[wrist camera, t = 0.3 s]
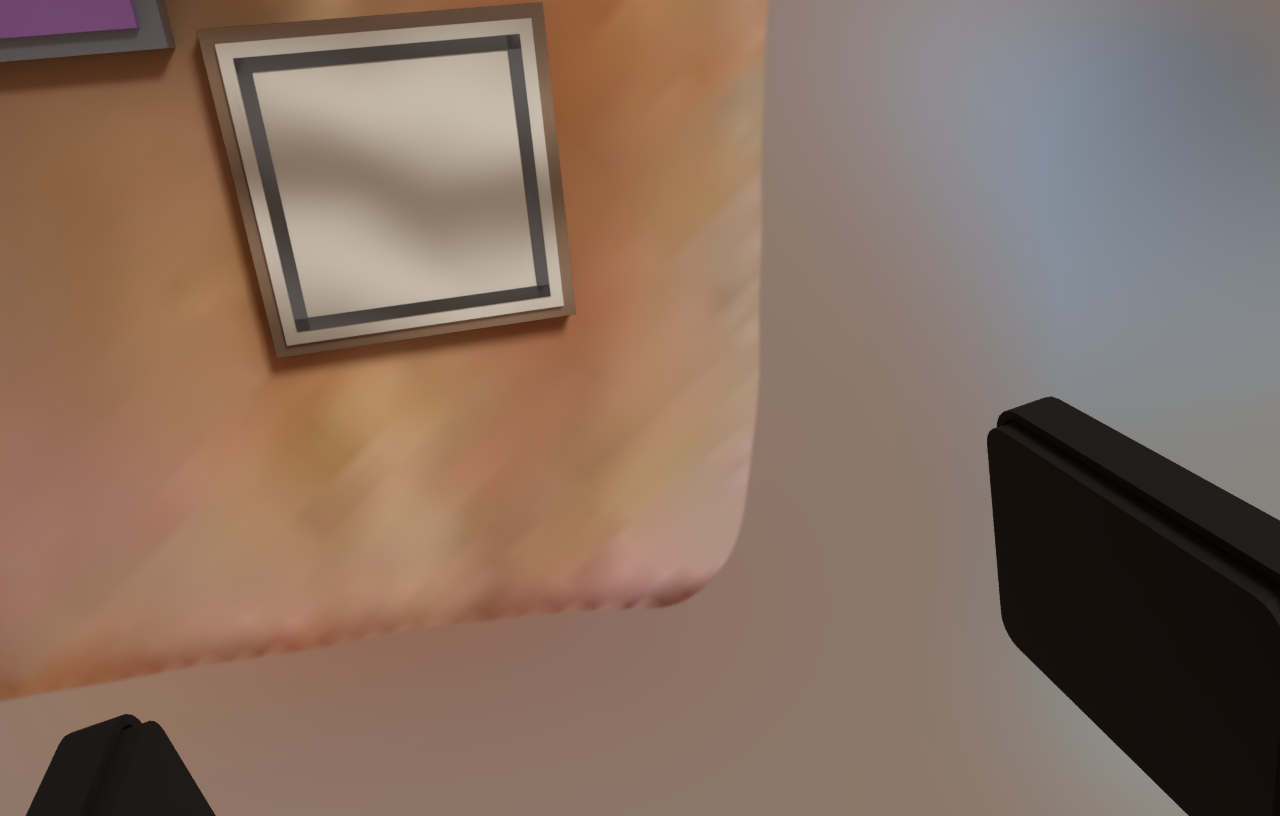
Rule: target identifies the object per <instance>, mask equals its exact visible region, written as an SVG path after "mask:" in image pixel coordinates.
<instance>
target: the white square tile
mask: <svg viewBox="0 0 1280 816" xmlns="http://www.w3.org/2000/svg"><path fill="white" fill-rule="evenodd" d="M197 34H198V38H199V43H200V47H201V51H202V55H203V59H204V63H205V67H206V71H207V75H208V79H209V83H210V87H211V91H212V95H213V99H214V103H215V108H216V112H217V116H218V120H219V124H220V128H221V132H222V136H223V140H224V144H225V148H226V152H227V156H228V160H229V164H230V168H231V173H232V177H233V181H234V185H235V189H236V193H237V197H238V201H239V205H240V209H241V213H242V217H243V221H244V225H245V229H246V233H247V238H248V242H249V246H250V250H251V254H252V258H253V262H254V266H255V270H256V274H257V278H258V282H259V286H260V290H261V294H262V298H263V303H264V307H265V311H266V315H267V319H268V323H269V327H270V331H271V335H272V339H273V343H274V347H275V351H276V355H277V358H282V357H288V356H295V355H302V354H309V353H316V352H322V351H329V350H336V349H343V348H350V347H357V346H363V345H370V344H377V343H384V342H391V341H397V340H404V339H411V338H418V337H425V336H431V335H438V334H445V333H452V332H459V331H465V330H472V329H479V328H486V327H493V326H499V325H506V324H513V323H520V322H527V321H533V320H540V319H547V318H554V317H561V316H567V315H574V314H576V308H575V299H574V290H573V281H572V271H571V262H570V253H569V244H568V234H567V225H566V216H565V207H564V198H563V188H562V179H561V170H560V161H559V151H558V142H557V133H556V124H555V115H554V105H553V96H552V87H551V78H550V68H549V59H548V50H547V41H546V32H545V22H544V13H543V4H542V2H539V3H526V4H514V5H501V6H488V7H476V8H463V9H451V10H438V11H426V12H413V13H401V14H388V15H376V16H363V17H351V18H338V19H326V20H313V21H301V22H288V23H276V24H263V25H251V26H238V27H226V28H213V29H201V30H197Z"/></svg>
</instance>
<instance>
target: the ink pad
mask: <svg viewBox="0 0 1280 816" xmlns="http://www.w3.org/2000/svg"><path fill="white" fill-rule="evenodd" d="M164 48H175V44H174V40H173V36H172V32H171V28H170V24H169V20H168V17H167V13H166V9H165V5H164V1H163V0H0V62H8V61H20V60H32V59H44V58H56V57H68V56H80V55H92V54H104V53H116V52H128V51H140V50H152V49H164Z"/></svg>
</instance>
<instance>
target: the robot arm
mask: <svg viewBox="0 0 1280 816" xmlns="http://www.w3.org/2000/svg"><path fill="white" fill-rule="evenodd" d="M987 448H988V460H989V471H990V472H989V473H990V484H991V497H992V509H993V519H994V520H993V521H994V532H995V545H996V556H997V568H998V581H999V593H1000V605H1001V614H1002V620H1003V623H1004V626H1005V629H1006V631H1007V633H1008V635H1009V636H1010V638H1011V639H1012V641H1013V642H1014V644H1015V645H1016V646H1017V647H1018V648H1019V649H1020V650H1021V651H1022V652H1023V653H1024V654H1025V655H1026V656H1027V657H1028V658H1029V659H1030V660H1031V661H1032V662H1033V663H1034V664H1035V665H1036V666H1037V667H1038V668H1039V669H1040V670H1041V671H1042V672H1043V673H1044V674H1045V675H1046V676H1047V677H1048V678H1049V679H1050V680H1051V681H1052V682H1053V683H1054V684H1055V685H1056V686H1057V687H1058V688H1060V690H1062V692H1064V693H1065V695H1066V696H1068V697H1069V698H1070V699H1071V700H1072V701H1073V702H1074V703H1075V704H1076V705H1077V706H1078V707H1079V708H1080V709H1081V710H1082V711H1083V712H1084V713H1085V714H1086V715H1087V716H1088V717H1089V718H1090V719H1091V720H1092V721H1093V722H1094V723H1095V724H1096V725H1097V726H1098V727H1099V728H1100V729H1101V730H1102V731H1103V732H1104V733H1105V734H1106V735H1107V736H1108V737H1109V738H1110V739H1111V740H1112V741H1113V742H1114V743H1115V744H1116V745H1117V746H1118V747H1119V748H1120V749H1121V750H1122V751H1123V752H1124V753H1125V754H1127V755H1128V756H1129V757H1130V758H1131V759H1132V760H1133V761H1134V762H1135V763H1136V764H1137V765H1138V766H1139V767H1140V768H1141V769H1142V770H1143V771H1144V772H1145V773H1146V774H1147V775H1148V776H1149V777H1150V778H1151V779H1152V780H1153V781H1154V782H1155V783H1156V784H1157V785H1158V786H1159V787H1160V788H1161V789H1162V790H1163V791H1164V792H1165V793H1166V794H1167V795H1168V796H1169V797H1170V798H1171V799H1172V800H1173V801H1175V803H1176V804H1177V805H1178V806H1179V807H1180V808H1182V810H1183V811H1185V813H1187V814H1188V815H1189V816H1280V521H1279V520H1278V519H1276V518H1274V517H1272V516H1270V515H1269V514H1267V513H1265V512H1263V511H1261V510H1260V509H1258V508H1256V507H1254V506H1252V505H1250V504H1248V503H1247V502H1245V501H1243V500H1241V499H1239V498H1238V497H1236V496H1234V495H1232V494H1230V493H1228V492H1227V491H1225V490H1223V489H1221V488H1220V487H1218V486H1216V485H1214V484H1212V483H1210V482H1208V481H1207V480H1205V479H1203V478H1201V477H1200V476H1198V475H1196V474H1194V473H1192V472H1190V471H1189V470H1187V469H1185V468H1183V467H1181V466H1180V465H1178V464H1176V463H1174V462H1172V461H1170V460H1169V459H1167V458H1165V457H1163V456H1161V455H1159V454H1158V453H1156V452H1154V451H1152V450H1150V449H1149V448H1147V447H1145V446H1143V445H1141V444H1139V443H1138V442H1136V441H1134V440H1132V439H1130V438H1129V437H1127V436H1125V435H1123V434H1121V433H1120V432H1118V431H1116V430H1114V429H1112V428H1110V427H1109V426H1107V425H1105V424H1103V423H1101V422H1099V421H1098V420H1096V419H1094V418H1092V417H1090V416H1089V415H1087V414H1085V413H1083V412H1081V411H1080V410H1078V409H1076V408H1074V407H1072V406H1070V405H1069V404H1067V403H1065V402H1063V401H1061V400H1060V399H1057V398H1054V397H1046V398H1042V399H1040V400H1036V401H1034V402H1030V403H1028V404H1025V405H1022V406H1019V407H1016V408H1013V409H1010V410H1007V411H1004V412H1003V413H1002V414H1001V415H1000V416H999V418H998V421H997V428H994V429H992V430H991V431H990V432H989V434H988V437H987ZM26 816H215V814H214V812H213V811H212V809H211V808H210V806H209V804H208V803H207V801H206V799H205V798H204V796H203V794H202V793H201V791H200V789H199V788H198V786H197V784H196V783H195V781H194V779H193V778H192V776H191V774H190V773H189V771H188V770H187V768H186V766H185V765H184V763H183V761H182V760H181V758H180V756H179V755H178V753H177V751H176V750H175V748H174V746H173V745H172V743H171V742H170V740H169V738H168V737H167V735H166V733H165V731H164V730H163V729H162V727H161V726H160V725H159V724H158V723H156V722H155V721H148V722H145V723H141V722H140V720H139V719H137V718H136V717H135V716H133V715H129V714H124V715H121V716H118V717H116V718H113V719H110V720H107V721H104V722H101V723H98V724H95V725H92V726H89V727H86V728H84V729H81V730H78V731H75V732H72V733H70V734H68V735H66V736H65V737H64V738H63V739H62V741H61V742H60V744H59V746H58V748H57V750H56V752H55V754H54V756H53V758H52V761H51V763H50V765H49V767H48V769H47V772H46V773H45V776H44V778H43V780H42V782H41V785H40V786H39V788H38V791H37V793H36V795H35V797H34V799H33V801H32V803H31V806H30V808H29V810H28V812H27V814H26Z"/></svg>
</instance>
